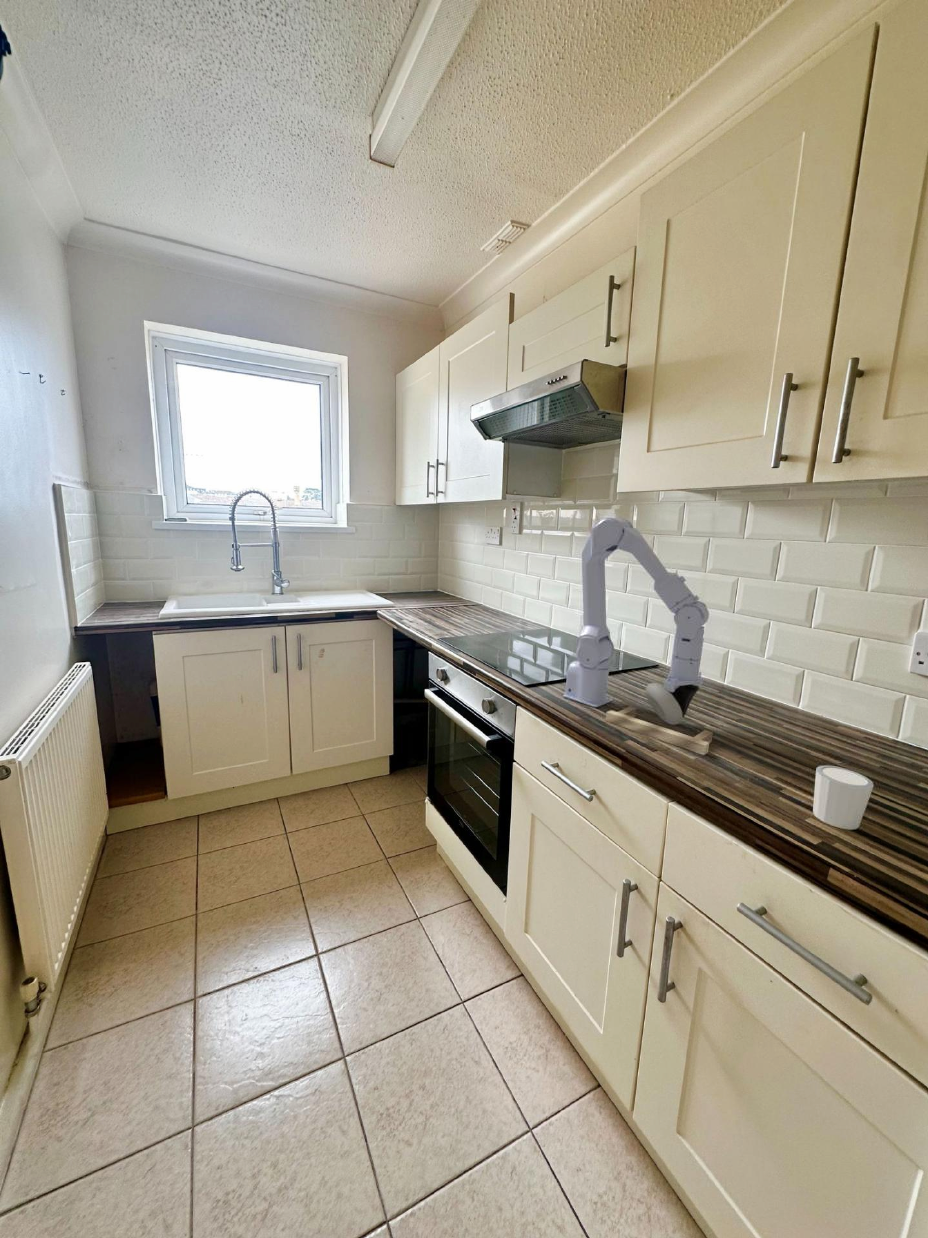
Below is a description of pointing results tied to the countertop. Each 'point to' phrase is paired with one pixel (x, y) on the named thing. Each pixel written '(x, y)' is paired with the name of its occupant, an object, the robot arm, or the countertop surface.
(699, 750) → the drawer pull handle
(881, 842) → the countertop surface
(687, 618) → the robot arm
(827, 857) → the countertop surface
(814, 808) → the white cylinder
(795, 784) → the countertop surface
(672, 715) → the white rubber ring
